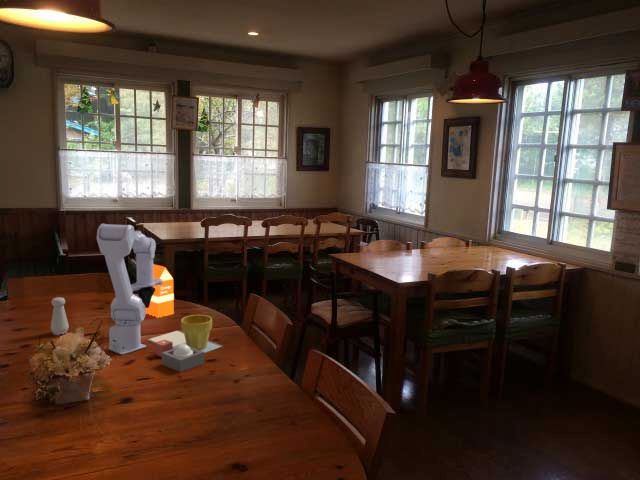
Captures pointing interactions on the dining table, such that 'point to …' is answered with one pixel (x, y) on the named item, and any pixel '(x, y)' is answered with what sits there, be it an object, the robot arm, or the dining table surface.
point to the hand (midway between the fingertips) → (145, 307)
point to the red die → (162, 347)
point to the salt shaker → (59, 317)
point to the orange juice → (162, 294)
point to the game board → (182, 340)
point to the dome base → (182, 360)
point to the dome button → (183, 351)
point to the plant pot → (196, 330)
